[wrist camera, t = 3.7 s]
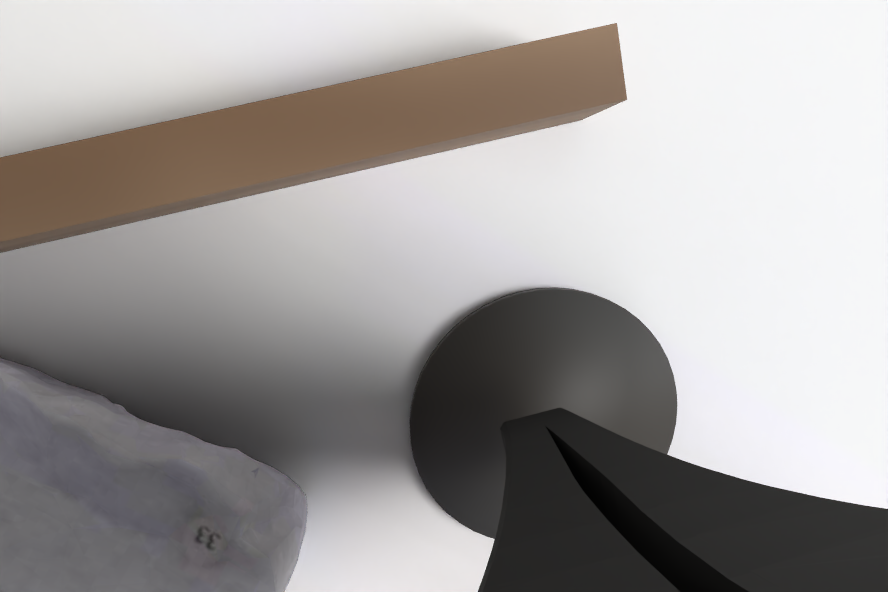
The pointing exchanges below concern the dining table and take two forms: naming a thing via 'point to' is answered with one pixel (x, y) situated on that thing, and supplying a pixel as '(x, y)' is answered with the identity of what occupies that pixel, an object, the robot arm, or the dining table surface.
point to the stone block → (132, 500)
